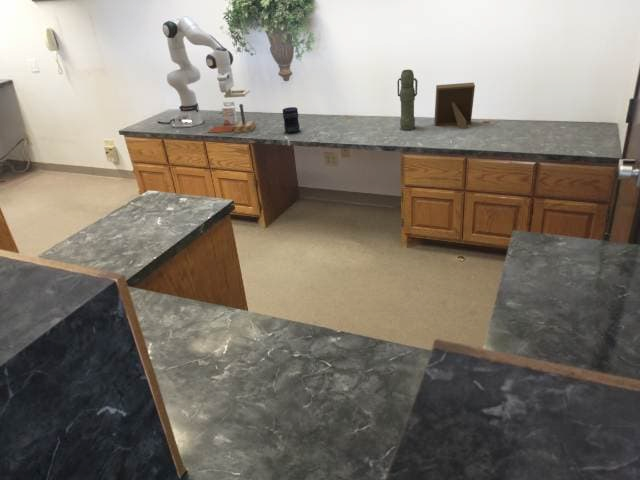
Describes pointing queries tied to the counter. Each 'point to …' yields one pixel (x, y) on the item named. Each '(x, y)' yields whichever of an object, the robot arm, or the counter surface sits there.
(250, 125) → the stand
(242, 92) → the loop
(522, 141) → the counter surface
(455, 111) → the photo frame
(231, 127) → the mat
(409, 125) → the thermos
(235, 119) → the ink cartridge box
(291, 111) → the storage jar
